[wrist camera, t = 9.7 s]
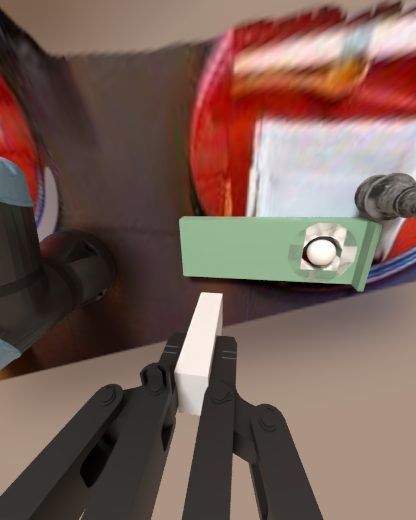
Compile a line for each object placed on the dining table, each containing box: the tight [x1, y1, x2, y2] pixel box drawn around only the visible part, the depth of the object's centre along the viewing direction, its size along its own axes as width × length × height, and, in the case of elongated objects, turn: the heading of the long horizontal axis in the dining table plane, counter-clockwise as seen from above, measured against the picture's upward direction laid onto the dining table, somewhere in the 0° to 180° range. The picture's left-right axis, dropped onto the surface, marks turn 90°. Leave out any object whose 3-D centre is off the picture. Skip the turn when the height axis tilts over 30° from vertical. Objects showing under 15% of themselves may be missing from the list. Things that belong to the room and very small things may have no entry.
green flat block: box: [179, 217, 383, 291], centre depth 34 cm, size 28×10×4 cm, turn 91°
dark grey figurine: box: [355, 173, 416, 220], centre depth 25 cm, size 6×6×12 cm
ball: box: [307, 239, 336, 265], centre depth 33 cm, size 4×4×4 cm
